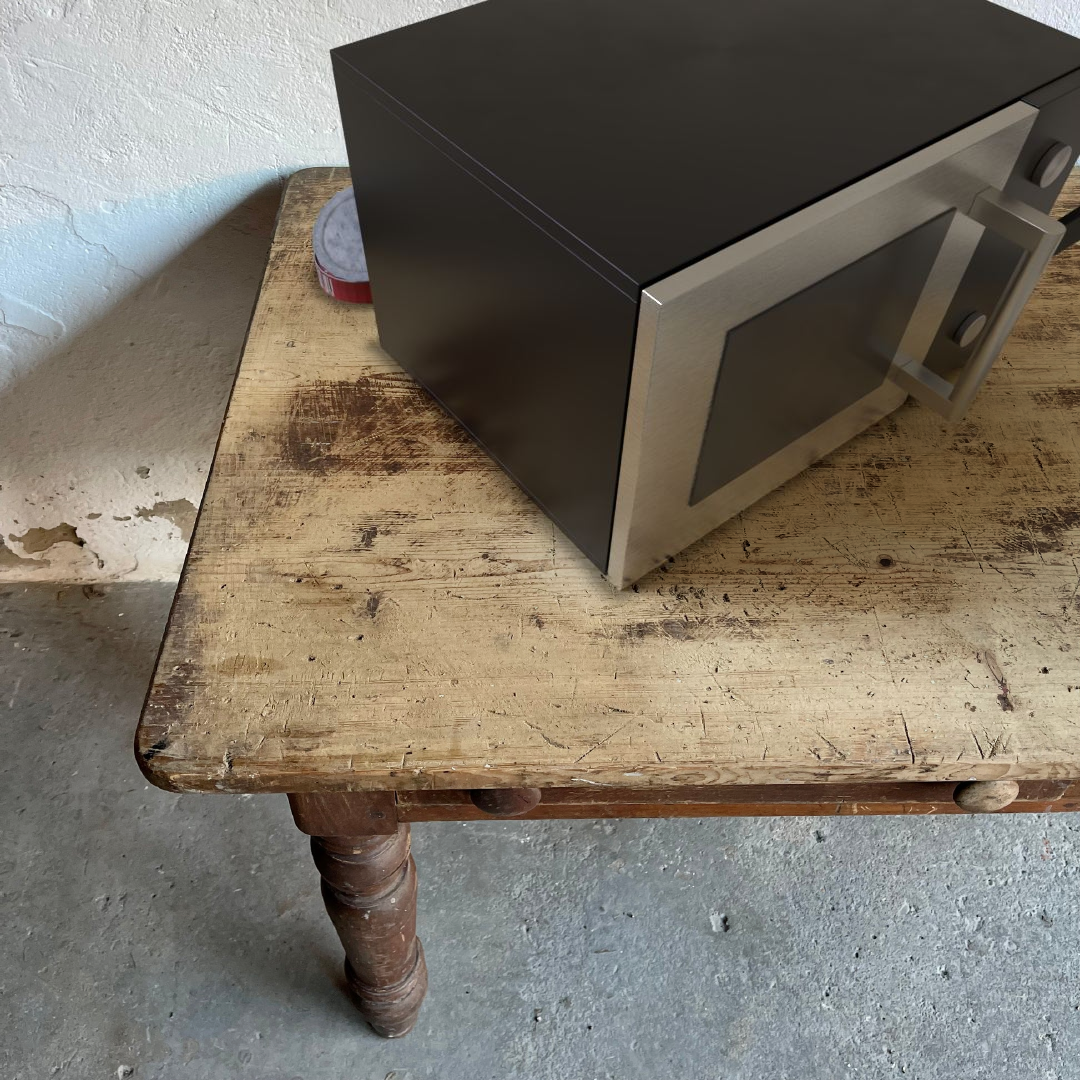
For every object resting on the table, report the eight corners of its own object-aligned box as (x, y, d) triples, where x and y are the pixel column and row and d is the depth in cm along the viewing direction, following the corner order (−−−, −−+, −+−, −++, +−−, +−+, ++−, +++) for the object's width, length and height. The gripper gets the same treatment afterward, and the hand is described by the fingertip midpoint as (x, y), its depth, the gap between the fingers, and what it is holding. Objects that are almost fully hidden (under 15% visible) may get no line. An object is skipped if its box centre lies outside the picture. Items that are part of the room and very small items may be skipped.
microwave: (982, 359, 87) (1140, 63, 64) (624, 598, 70) (668, 307, 47) (719, 190, 104) (771, -90, 81) (380, 348, 87) (328, 49, 64)
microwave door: (961, 445, 79) (1127, 150, 57) (675, 649, 67) (747, 370, 45) (889, 395, 83) (1020, 100, 61) (606, 578, 70) (641, 289, 48)
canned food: (419, 303, 98) (449, 247, 90) (348, 339, 93) (372, 284, 84) (356, 222, 98) (380, 159, 90) (281, 254, 93) (299, 190, 84)
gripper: (1251, 39, 60) (1009, 197, 69) (1379, 153, 51) (1084, 317, 60) (1275, 116, 64) (1045, 254, 73) (1397, 233, 56) (1119, 374, 64)
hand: (1063, 282), depth 66 cm, fingers open, 8 cm apart
